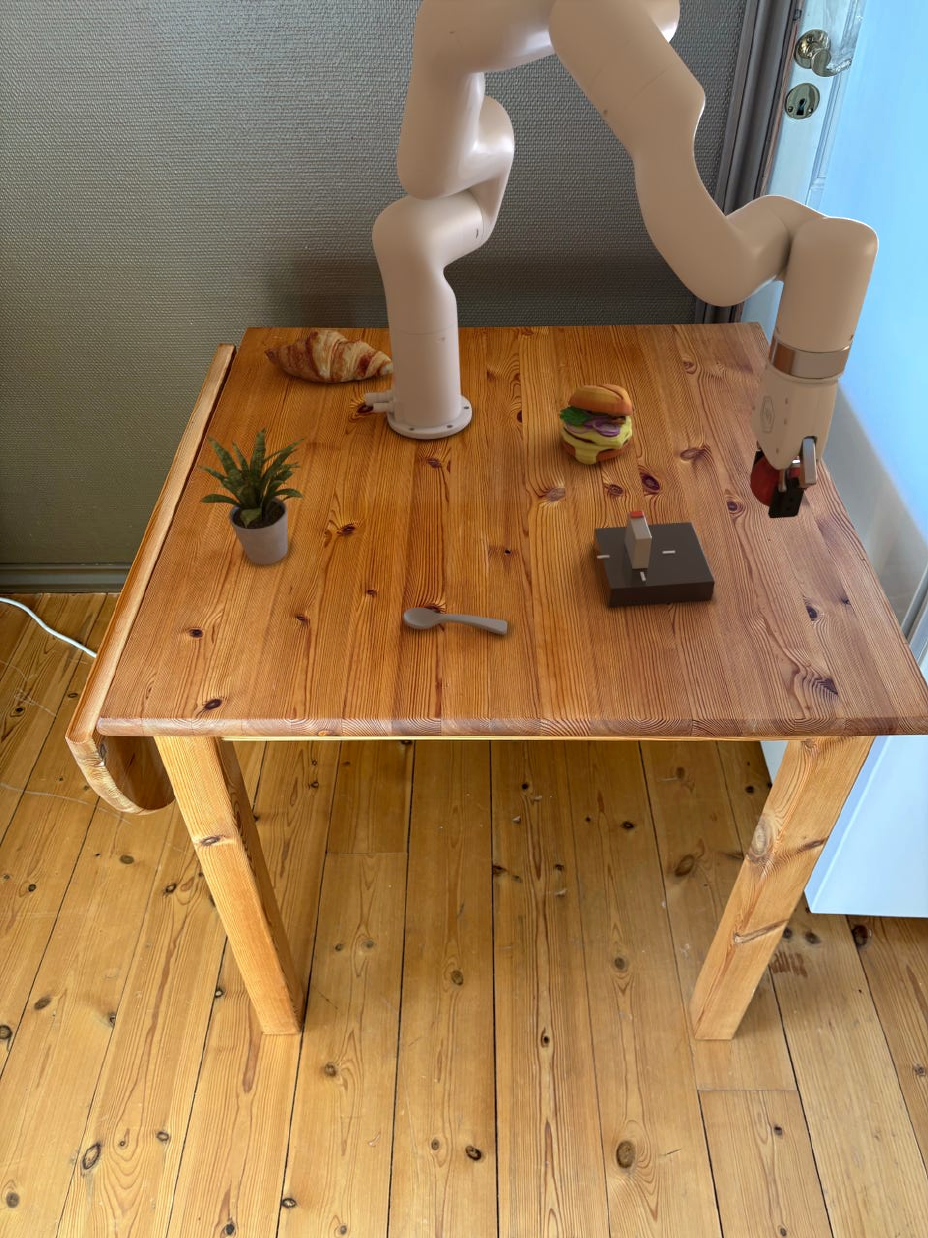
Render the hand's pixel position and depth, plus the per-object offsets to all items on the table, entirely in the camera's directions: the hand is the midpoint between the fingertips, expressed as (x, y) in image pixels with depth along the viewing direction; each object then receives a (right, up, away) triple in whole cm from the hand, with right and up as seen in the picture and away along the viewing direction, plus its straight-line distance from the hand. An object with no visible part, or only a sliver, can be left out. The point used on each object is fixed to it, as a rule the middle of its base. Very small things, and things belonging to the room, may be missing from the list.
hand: (773, 496), depth 105 cm
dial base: (-13, -8, +7) cm, 16 cm away
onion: (0, -1, +1) cm, 2 cm away
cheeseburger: (-16, +11, +27) cm, 33 cm away
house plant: (-59, -6, +11) cm, 60 cm away
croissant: (-56, +25, +44) cm, 76 cm away
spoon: (-36, -15, +1) cm, 39 cm away
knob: (-15, -6, +5) cm, 17 cm away
